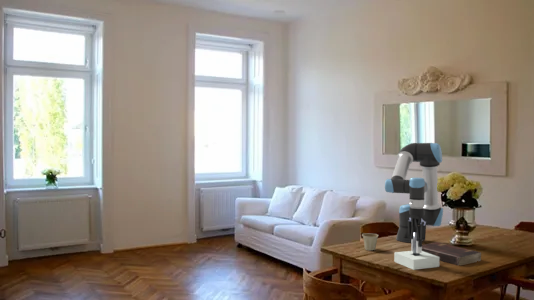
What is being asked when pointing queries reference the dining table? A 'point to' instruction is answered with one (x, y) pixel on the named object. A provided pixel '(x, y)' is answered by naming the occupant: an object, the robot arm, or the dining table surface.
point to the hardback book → (452, 253)
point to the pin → (415, 244)
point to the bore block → (416, 260)
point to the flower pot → (370, 241)
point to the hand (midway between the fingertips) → (416, 251)
